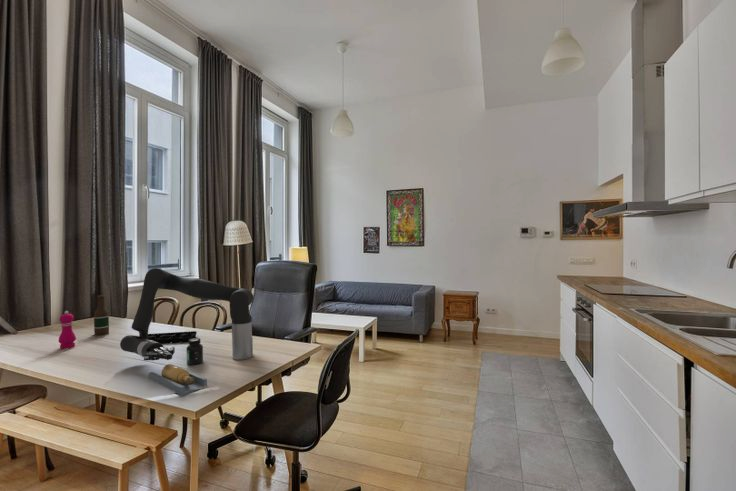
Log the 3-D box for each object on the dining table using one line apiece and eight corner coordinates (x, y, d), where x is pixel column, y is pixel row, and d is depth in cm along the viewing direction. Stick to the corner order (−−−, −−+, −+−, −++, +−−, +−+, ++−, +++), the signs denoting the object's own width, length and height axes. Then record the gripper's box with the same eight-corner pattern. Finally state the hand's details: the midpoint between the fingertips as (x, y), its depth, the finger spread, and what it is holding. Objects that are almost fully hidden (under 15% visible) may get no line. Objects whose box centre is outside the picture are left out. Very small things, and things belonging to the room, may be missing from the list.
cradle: (149, 381, 146) (148, 372, 146) (173, 373, 155) (173, 365, 154) (181, 396, 131) (181, 387, 131) (207, 387, 140) (206, 378, 139)
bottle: (177, 366, 150) (200, 375, 140) (171, 379, 148) (193, 390, 137) (165, 362, 146) (188, 371, 136) (158, 376, 144) (181, 386, 133)
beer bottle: (97, 336, 216) (96, 296, 215) (91, 334, 220) (90, 295, 219) (111, 333, 222) (110, 295, 222) (106, 331, 226) (105, 294, 226)
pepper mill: (78, 346, 196) (77, 310, 195) (63, 350, 189) (62, 312, 189) (71, 344, 199) (70, 309, 198) (55, 348, 192) (54, 311, 192)
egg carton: (195, 342, 202) (195, 336, 202) (133, 349, 190) (133, 342, 190) (197, 334, 218) (197, 328, 218) (140, 340, 207) (140, 334, 207)
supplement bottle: (186, 368, 160) (185, 342, 160) (187, 363, 166) (186, 338, 166) (203, 366, 163) (202, 340, 163) (203, 361, 169) (202, 336, 169)
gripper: (133, 345, 150) (152, 352, 140) (165, 337, 161) (185, 344, 151) (133, 362, 151) (152, 371, 141) (166, 354, 161) (186, 361, 151)
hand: (169, 357), depth 146 cm, fingers closed
